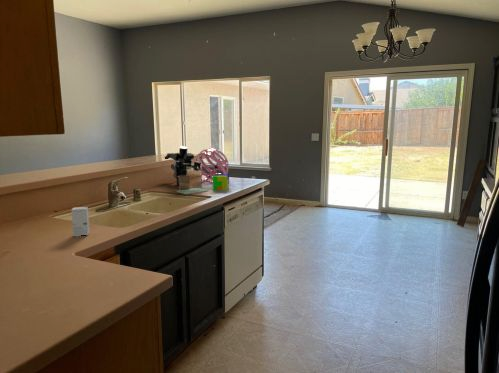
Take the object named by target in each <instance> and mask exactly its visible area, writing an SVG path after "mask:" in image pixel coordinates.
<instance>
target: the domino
mask: <svg viewBox="0 0 499 373" xmlns="http://www.w3.org/2000/svg"><path fill="white" fill-rule="evenodd" d="M178 177H179V186H178V190H185V189H191V186H190V185H191V183H190V175H189V174H187V175H184V176H178Z"/></svg>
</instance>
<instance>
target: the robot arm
mask: <svg viewBox="0 0 499 373" xmlns="http://www.w3.org/2000/svg"><path fill="white" fill-rule="evenodd" d="M178 151H179V152H176V153H174V152H167V153H166V156H164V157H163V159H164V158H165V159H174V160H175V162H174V163H175V164H172V165H171V168H170V169H171V170H172V171H174V172H173V178H175V179H176V181H175V182H176V183H175V184H174V186H178V187H179V177H178V176H184V175H188V171H187V170H188V169H189V170H190V169H193V170H194V171H195V172H196V171H197V172H200V167H201V166H202V164H201V162H200V161H198V160H197V161H195V155H194V154H193V153H191V152H190V153H189V152H188V146H183V145H180V146H179V150H178ZM192 160H194V162H193V164H192Z"/></svg>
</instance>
